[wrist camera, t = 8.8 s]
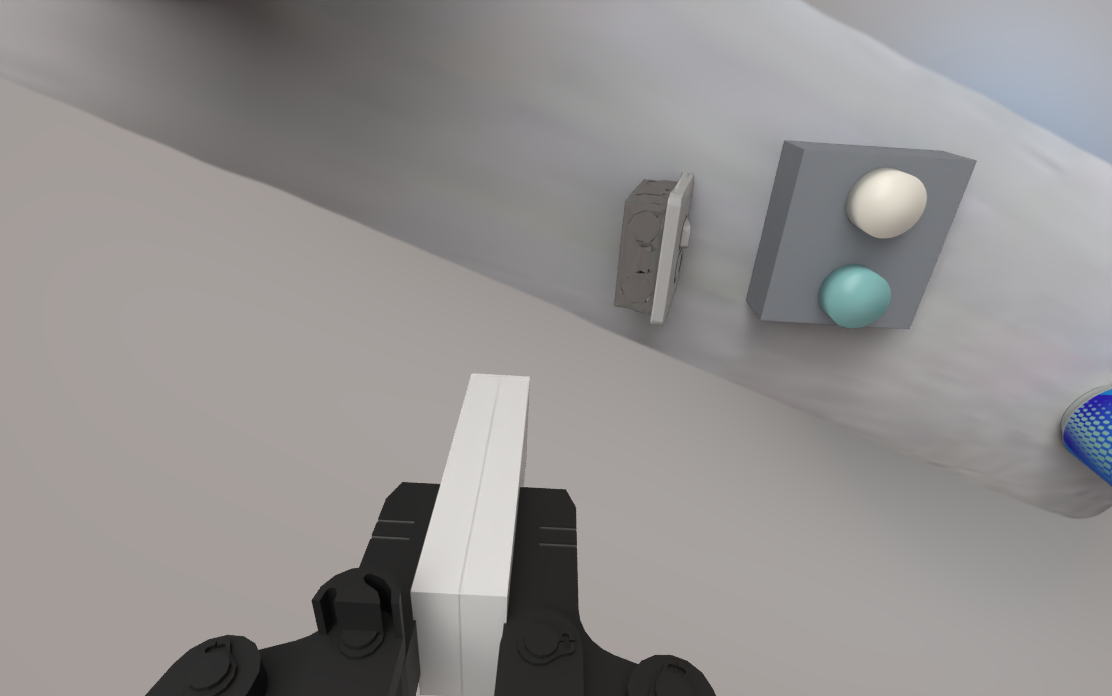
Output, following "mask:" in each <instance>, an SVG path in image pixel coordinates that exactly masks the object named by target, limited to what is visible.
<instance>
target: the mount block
mask: <svg viewBox="0 0 1112 696" xmlns="http://www.w3.org/2000/svg"><path fill="white" fill-rule="evenodd" d="M976 162H977V161H976V160H972V159H969V158H965V157H962V156H958V155H955V154H951V153H948V152H944V151H934V150H919V149H904V148H889V147H874V146H858V145H843V144H828V143H813V142H798V141H784V144H783V148H782V153H781V157H780V161H779V165H778V169H777V173H776V178H775V182H774V186H773V190H772V194H771V198H770V203H769V207H768V211H767V215H766V219H765V223H764V228H763V232H762V236H761V240H760V244H759V248H758V253H757V257H756V261H755V265H754V269H753V274H752V278H751V282H750V286H749V290H748V294H747V299H746V301H747V302H748V304H749V305H750V306H751V308H752V309H753V311H754V312H755V313H756V315H757V316H758V318H759V319H760V320H764V321H780V322H797V323H813V324H830V325H838V324H837V323H836V322H835V321H834V320H833V319H832V318H831V317H830V316H829V315H828V314H827V313H826V312H825V311H824V310H823V309H822V307H821V306H820V303H819V297H818V296H819V290H820V287H821V285H822V283H823V281H824V280H825V279H826V277H827V276H828V275H829V274H830V273H832V272H833V270H836V269H838V268H840V267H842V266H845V265H849V264H861V265H864V266H867V267H868V268H870V269H871V270H873V271H874V272H875V273H877V274H878V275H880V276H881V277H882V278H884V279H885V280H886V281H887V283H888V284H889V286H890V289H891V300H890V303H889V306H888V308H887V309H886V311H885V312H884V313H883V315H882V316H881V317H880V318H878V319H877V320H876V321H874V322H873V323H871V324H869V325H867V326H864V327H880V328H897V329H910V326H911V324H912V321H913V319H914V316H915V314H916V311H917V309H918V306H919V304H920V301H921V299H922V296H923V294H924V291H925V289H926V286H927V284H928V281H929V279H930V276H931V274H932V271H933V269H934V266H935V264H936V261H937V259H938V256H939V254H940V251H941V249H942V246H943V244H944V241H945V239H946V236H947V234H948V231H949V229H950V226H951V224H952V222H953V219H954V217H955V214H956V212H957V209H958V207H959V204H960V202H961V199H962V197H963V194H964V192H965V189H966V187H967V184H968V182H969V179H970V177H971V174H972V172H973V169H974V167H975V164H976ZM880 168H893V169H897V170H899V171H902V172H905V173H907V174H910V175H912V176H915V177H916V178H918V179H919V180H920V181H921V182H922V183H923V185H924V187H925V189H926V193H927V202H926V206H925V209H924V212H923V214H922V215H921V217H920V219H919V220H918V221H917V222H916V223H915V225H914V226H912V227H911V228H910V229H909V230H907V231H906V232H904V233H903V234H900V235H898V236H895V237H892V238H876V237H873V236H871V235H869V234H868V233H866V232H864V231H863V230H861V229H860V228H858V227H856V226H855V225H854V224H853V223H852V222H851V221H850V220H849V218H848V215H847V212H846V202H847V198H848V195H849V193H850V191H851V189H852V187H853V186H854V185H855V183H856V182H857V181H858V180H859V179H860V178H862V176H864V175H866V174H867V173H869V172H871V171H873V170H876V169H880Z"/></svg>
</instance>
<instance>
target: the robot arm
mask: <svg viewBox="0 0 1112 696" xmlns="http://www.w3.org/2000/svg"><path fill="white" fill-rule="evenodd" d="M529 380H530V377H525V376H507V375H489V374H473V373H472V374H471V378H470V381H469V385H468V388H467V392H466V396H465V399H464V403H463V406H462V410H461V413H460V417H459V420H458V424H457V428H456V431H455V435H454V438H453V442H452V446H451V449H450V453H449V456H448V460H447V463H446V467H445V471H444V474H443V478H442V481H441V484H427V483H409V482H402V483H401V484H400V485H399V486H398V487H397V488H396V489H395V490H394V491H393V492H392V493H391V494H390V495H389V496H388V497H387V498H386V501H385V503H384V505H383V508H382V510H381V513H380V516H379V518H378V522H377V523H376V526H375V528H374V531H373V533H372V539H370V541H369V544H368V546H367V549H366V551H365V554H364V557H363V559H362V562H361V564H360V567H359V568H353V569H350V570H347V571H345V572H342V573H340V574H338V575H335V576H334V577H333V578H331V579H330V580H329V581H327V582H326V583H325V584H324V585H322V586H321V587H320V589H319V590H318V592H317V593H316V595H315V596H314V598H313V599H312V604H313V609H314V614H315V618H316V622H317V627H318V631H317V632H315V633H313V634H312V635H310V636H307V637H305V638H302V639H299V640H296V641H292V642H288V643H285V644H281V645H276V646H273V647H269V648H264V649H261V650H258V649H257V646H256V644H255V643H254V642H252V641H250V640H249V639H247V638H245V637H244V636H234V635H226V636H221V637H217V638H213V639H209V640H207V641H205V642H203V643H201V644H199V645H198V646H196V647H194V648H192V649H190V650H189V651H188V652H186V653H185V654H184V655H183V656H182V657H181V658H180V659H179V660H177V661H176V662H175V663H174V664H173V665H172V666H171V667H170V668H169V669H168V671H167V672H166V673H165V674H164V675H163V676H162V677H161V678H160V680H159V681H158V682H157V683H156V684H155V685H154V686H153V687H152V688H151V690H150V691H149V692H148V693H147V694H146V695H145V696H416V692H417V687H418V683H419V687H420V695H437V696H716V695H715V693H714V690H713V688H712V687H711V685H710V684H709V682H708V681H707V679H706V678H705V676H704V675H703V673H702V672H701V671H699V670H698V669H697V668H696V667H694V666H693V665H692V664H691V663H689V662H688V661H686V660H683V659H681V658H678V657H675V656H673V655H654V656H652V657H649V658H647V659H645V660H642V661H641V662H640V663H639V664H636V663H633V662H631V661H628V660H626V659H623V658H620V657H618V656H615V655H613V654H611V653H609V652H607V651H605V650H603V649H602V648H600V647H599V646H598V645H597V644H596V643H594V642H593V641H592V640H591V638H590V637H589V636H588V634H587V633H586V632H585V630H584V628H583V626H582V624H581V621H580V616H579V610H578V573H577V533H576V507H575V505H574V503H573V502H572V500H571V498H570V496H569V494H568V493H567V491H566V489H565V490H564V489H546V488H528V487H524V477H525V467H526V452H527V427H528V406H529V383H530V381H529Z"/></svg>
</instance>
